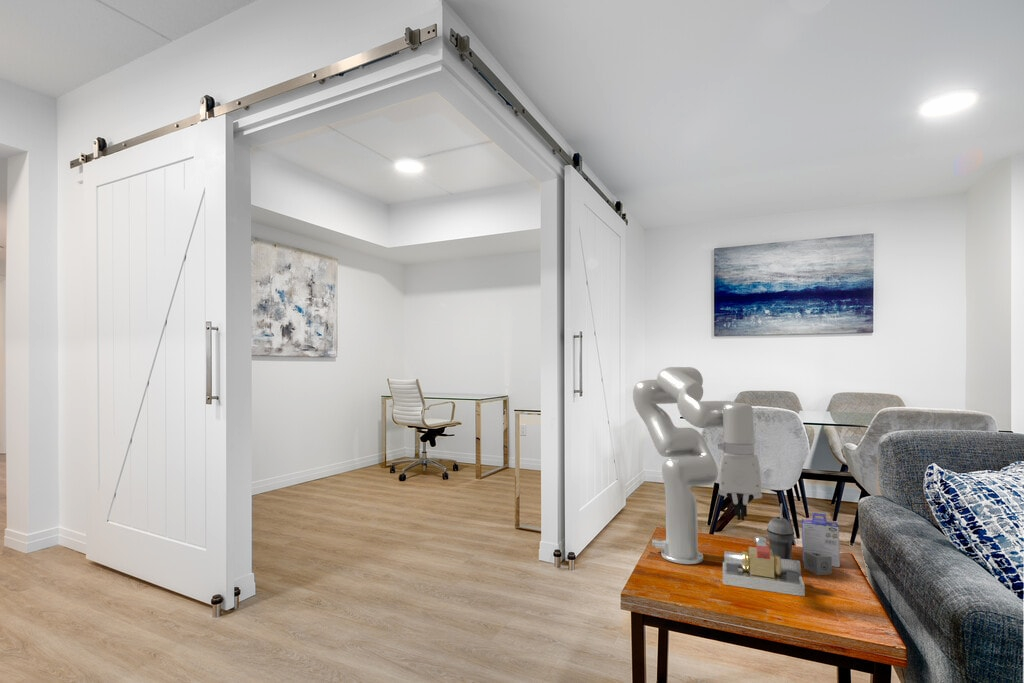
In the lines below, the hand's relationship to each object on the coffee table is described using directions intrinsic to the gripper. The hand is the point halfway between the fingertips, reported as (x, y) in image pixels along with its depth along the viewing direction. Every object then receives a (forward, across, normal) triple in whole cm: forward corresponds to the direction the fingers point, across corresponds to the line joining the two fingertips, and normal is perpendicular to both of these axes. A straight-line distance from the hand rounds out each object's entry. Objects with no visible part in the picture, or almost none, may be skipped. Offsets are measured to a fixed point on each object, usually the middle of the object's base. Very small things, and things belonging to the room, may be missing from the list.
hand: (740, 518), depth 137 cm
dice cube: (+20, +21, +26) cm, 39 cm away
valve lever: (+9, +5, +5) cm, 11 cm away
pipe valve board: (+20, +5, +10) cm, 23 cm away
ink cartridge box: (+20, +23, +34) cm, 46 cm away
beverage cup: (+20, +11, +22) cm, 32 cm away
